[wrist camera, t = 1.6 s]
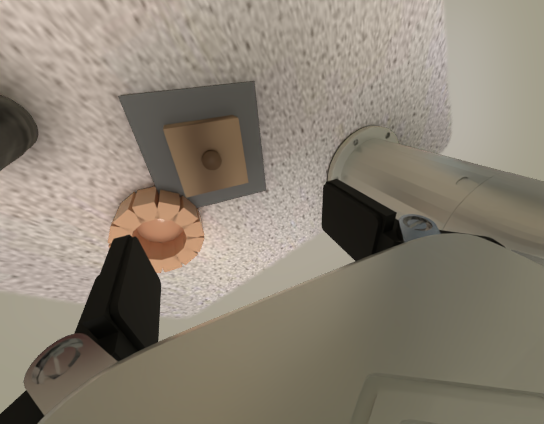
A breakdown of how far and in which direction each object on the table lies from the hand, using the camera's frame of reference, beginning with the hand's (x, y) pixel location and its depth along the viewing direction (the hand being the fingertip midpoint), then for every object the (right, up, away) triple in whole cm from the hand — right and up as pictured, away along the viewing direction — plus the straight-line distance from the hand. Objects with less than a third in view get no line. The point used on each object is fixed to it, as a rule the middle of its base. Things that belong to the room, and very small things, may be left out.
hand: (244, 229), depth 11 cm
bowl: (-12, 0, +15) cm, 19 cm away
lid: (-5, +7, +12) cm, 15 cm away
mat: (-6, +8, +13) cm, 16 cm away
